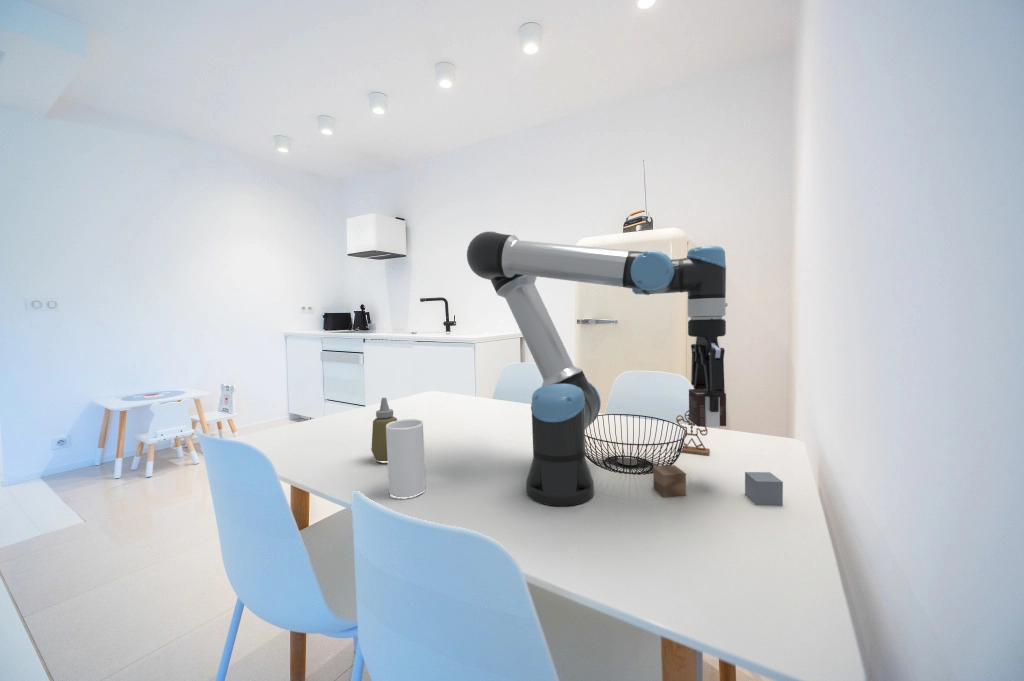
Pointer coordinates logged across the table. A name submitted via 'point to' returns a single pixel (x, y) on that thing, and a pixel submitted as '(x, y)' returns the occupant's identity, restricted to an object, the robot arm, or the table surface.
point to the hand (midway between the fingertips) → (706, 421)
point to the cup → (405, 457)
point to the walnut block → (669, 481)
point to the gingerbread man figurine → (689, 449)
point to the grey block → (764, 488)
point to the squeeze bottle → (381, 431)
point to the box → (703, 407)
